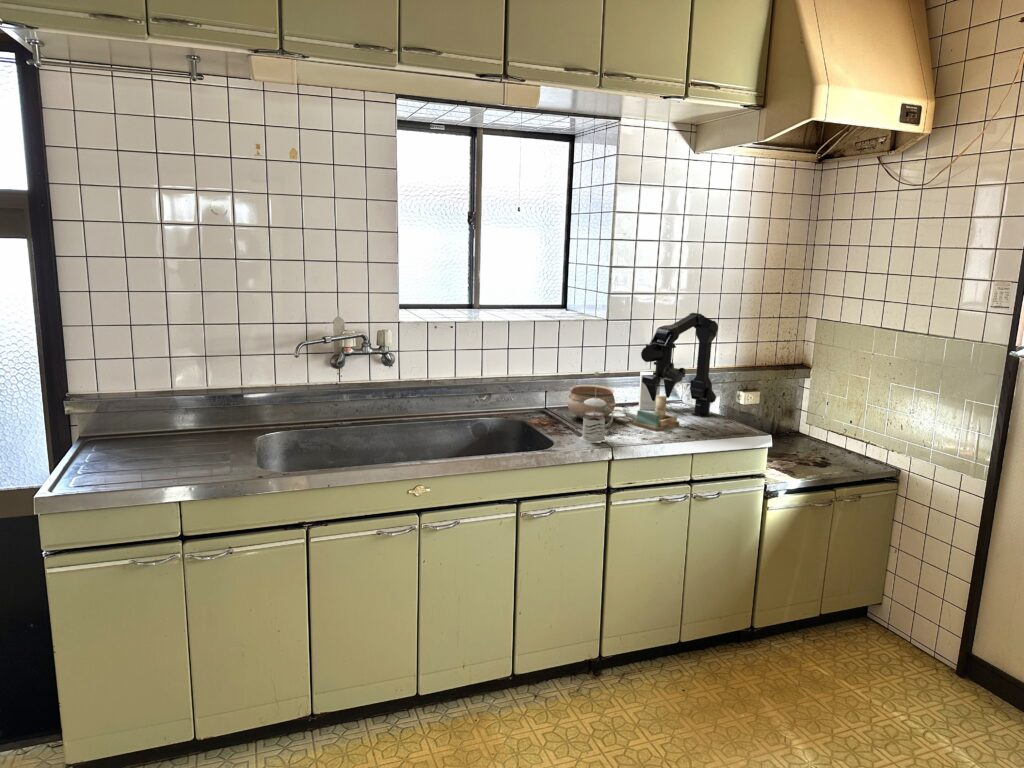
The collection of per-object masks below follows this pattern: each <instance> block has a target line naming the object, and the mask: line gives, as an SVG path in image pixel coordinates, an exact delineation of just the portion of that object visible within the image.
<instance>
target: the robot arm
mask: <svg viewBox="0 0 1024 768" xmlns="http://www.w3.org/2000/svg"><path fill="white" fill-rule="evenodd" d="M692 328H694V329H695V335H696V338H697V340H698V351H697V360H696V361H697V363H696V373H695V377H694V378H693V379H691V380H690V384H689V385H690V386H689V390H690V392H689V393H690V397H691V400H695V403H694V411H693V412H691V415H694V416H698V417H703V418H705V417H709V416H713V413H712V412H710V411H711V409H710V408H711V404H712V403H714V402H716V400H717V396H716V394H715V392H714V390H713V383H712V381H711V379H710V377H709V375H710V365H711V355H712V343H713V341H714V340H715V338H716V337H717V334H718V329H719V325H718V323H717V321H715V320H713V319H710V318H708V317H706V316H705V315H703V313H700V312H699V313H697V312H690V313H689V314H688V315H687V316H685V317H683V318H681V319H680V320H677V321H676V322H673V323H672V324H667V325H662V326H659V327H657V328H656V330H655V332H654V334H653V336H652V337H651V339H650V342H649V343H646V344H645V347H643V349H642V350H641V352H640V357H641V359H642V360H643V361H644V362H646V363H650V362H651V363H653V365H655V371H652V372H653V375H644V376H643V377H642V383H644V384H645V385H646V387H647V389H648V391H649V394H650V396H651V399H652V401H655V399H656V393H657V388H658V387H659V386H660V387H661V381H663V384H664V392H665V393H664V394H665V396H667V399H669V398H670V397H671V395H672V392H673V389H674V387H675V385H676V384H678V383H680V382H682V380H683V378H685V377H686V368H684V367H679V368H676V367H675V364H674V362H672V357H673V349H676V348H677V345H676V344H675V342H676V341H677V340H678V339H679V337H680V335H681V334H683V333H684V332H686V331H688V330H690V329H692ZM654 375H656V376H654ZM659 384H660V385H659Z"/></svg>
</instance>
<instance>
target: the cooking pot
mask: <svg viewBox="0 0 1024 768" xmlns="http://www.w3.org/2000/svg"><path fill="white" fill-rule="evenodd" d="M569 390H570V391H569V392H568V393H567V396H568V397H567V401H566V403H567V407H568V409H569V410H570V412H571V413H572V414H573V415H575V416H576V417H577V418H579V419H580V420H583V417H584V416H586V415H585V414H584V413H585V412H588V411H594V409H595V412H602V413H604V416H603V417H604V418H606V417H608V416H609V415H612V413H611V411H610V409H611V410H612V412H613V411H614V410H615V407H617V403H616V401H615V400H616V399H615V396H614V392H615V390H614V389H613V388H612V387H609V386H604V385H598V384H578V385H573V386H570V387H569ZM595 392H596V398H599V399H601V400H603V401H605V402H606V405H605V406H607V407H609V408H610V409H608V408H606V407H605V406H601V407H594V406H588V405H585V404H584V401H585V400H587V399H590V398H595ZM605 409H606V411H605ZM590 420H598V421H600V420H599V419H597V418H591V419H590Z"/></svg>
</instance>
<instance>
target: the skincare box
mask: <svg viewBox="0 0 1024 768" xmlns="http://www.w3.org/2000/svg"><path fill="white" fill-rule="evenodd" d="M653 372H654V371H640V373H639V374H640V375H639V395H638V408H639V410H643V411H655V406H656V399H655V401H652V399H651V396H650V394H649V391H648V389H647V387H646V385H645V384H644V383H642V377H643V376H644V375H653ZM654 376H656V375H654ZM659 385H660V386H659V387H658V388H657V393H656V396H657V395H661V394H660V391H661V390H660V389H661V383H660V384H659Z"/></svg>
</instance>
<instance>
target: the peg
mask: <svg viewBox="0 0 1024 768" xmlns="http://www.w3.org/2000/svg"><path fill="white" fill-rule="evenodd" d="M667 399H668V398H667V396H666V395H664V394H663V395H662V394H659V395H657V396H656V406H655V410H654V412H655V414H659V415H660V420H663V419H665V414H666V409H667Z"/></svg>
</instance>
